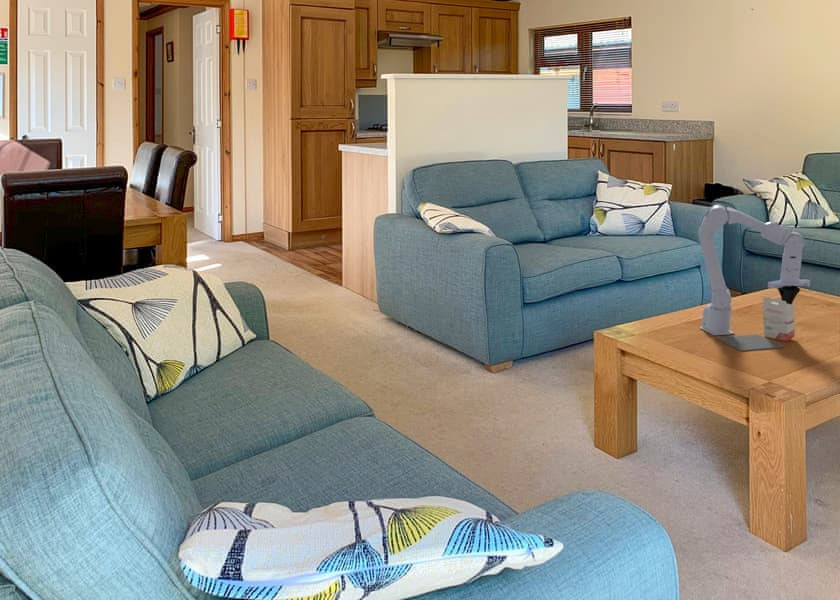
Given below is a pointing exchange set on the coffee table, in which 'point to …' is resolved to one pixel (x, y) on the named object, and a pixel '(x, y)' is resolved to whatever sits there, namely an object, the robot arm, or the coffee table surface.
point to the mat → (750, 342)
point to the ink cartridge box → (778, 319)
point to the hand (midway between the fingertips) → (786, 307)
